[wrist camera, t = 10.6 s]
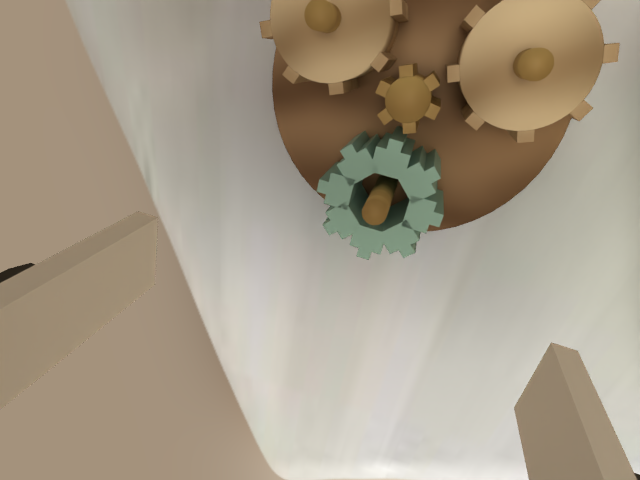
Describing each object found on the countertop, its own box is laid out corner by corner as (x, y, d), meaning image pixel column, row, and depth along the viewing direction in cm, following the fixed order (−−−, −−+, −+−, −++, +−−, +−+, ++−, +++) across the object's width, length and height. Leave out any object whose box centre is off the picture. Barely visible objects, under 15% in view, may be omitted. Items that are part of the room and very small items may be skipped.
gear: (348, 113, 29) (331, 123, 24) (460, 142, 28) (464, 158, 23) (324, 215, 32) (305, 240, 28) (424, 244, 31) (421, 276, 27)
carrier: (254, -45, 28) (190, -81, 20) (594, -124, 22) (667, -209, 15) (298, 231, 34) (261, 277, 27) (567, 221, 29) (609, 275, 22)
